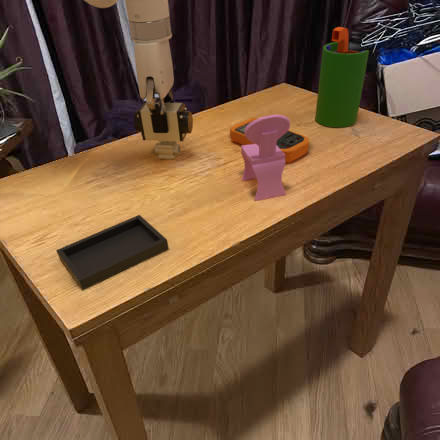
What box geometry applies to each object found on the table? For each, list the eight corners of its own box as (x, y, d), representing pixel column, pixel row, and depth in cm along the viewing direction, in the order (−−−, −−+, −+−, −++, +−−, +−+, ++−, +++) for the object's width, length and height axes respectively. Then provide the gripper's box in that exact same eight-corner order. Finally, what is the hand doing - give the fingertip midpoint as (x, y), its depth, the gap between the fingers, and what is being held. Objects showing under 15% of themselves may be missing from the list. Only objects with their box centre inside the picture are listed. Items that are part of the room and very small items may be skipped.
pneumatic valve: (191, 162, 93) (185, 106, 85) (140, 160, 95) (129, 105, 86) (197, 150, 97) (191, 95, 88) (147, 149, 99) (138, 95, 90)
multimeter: (286, 167, 89) (287, 151, 87) (227, 141, 99) (227, 127, 97) (312, 152, 93) (314, 137, 91) (254, 129, 103) (254, 115, 101)
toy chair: (274, 172, 88) (277, 97, 77) (291, 193, 82) (296, 115, 71) (236, 179, 87) (233, 104, 76) (250, 202, 81) (249, 123, 70)
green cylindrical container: (362, 118, 104) (379, 23, 90) (344, 131, 100) (359, 34, 86) (326, 109, 109) (336, 18, 95) (307, 121, 105) (315, 28, 91)
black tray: (82, 290, 66) (78, 280, 64) (59, 259, 71) (55, 250, 70) (168, 249, 72) (167, 239, 70) (141, 223, 78) (139, 214, 76)
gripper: (143, 18, 85) (158, 109, 98) (116, 43, 73) (136, 144, 86) (180, 17, 84) (190, 110, 97) (158, 42, 72) (172, 144, 85)
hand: (164, 125), depth 91 cm, fingers closed on pneumatic valve, 5 cm apart
